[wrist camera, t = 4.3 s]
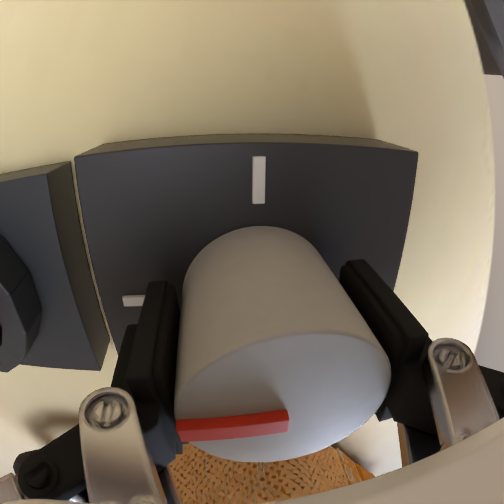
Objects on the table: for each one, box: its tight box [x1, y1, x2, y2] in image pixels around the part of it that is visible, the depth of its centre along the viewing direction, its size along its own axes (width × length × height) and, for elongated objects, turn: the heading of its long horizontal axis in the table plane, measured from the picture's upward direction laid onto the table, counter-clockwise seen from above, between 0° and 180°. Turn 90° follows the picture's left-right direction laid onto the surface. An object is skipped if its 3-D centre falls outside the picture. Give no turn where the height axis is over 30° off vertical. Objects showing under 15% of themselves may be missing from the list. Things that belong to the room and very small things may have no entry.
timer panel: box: [74, 134, 418, 356], centre depth 12 cm, size 11×10×3 cm
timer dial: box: [174, 226, 391, 462], centre depth 8 cm, size 5×5×5 cm
